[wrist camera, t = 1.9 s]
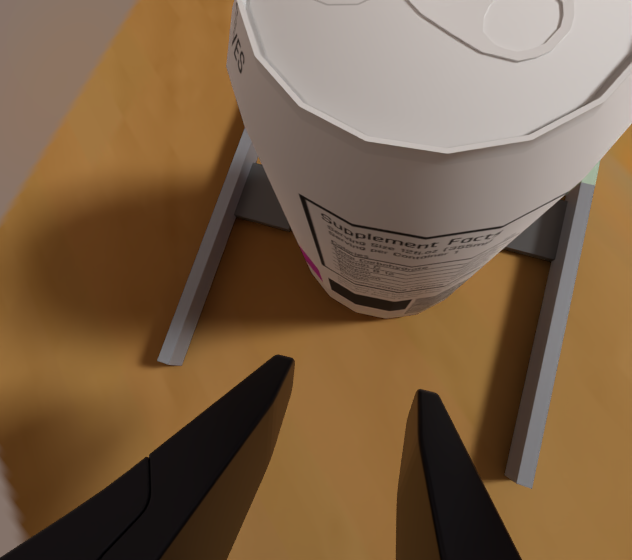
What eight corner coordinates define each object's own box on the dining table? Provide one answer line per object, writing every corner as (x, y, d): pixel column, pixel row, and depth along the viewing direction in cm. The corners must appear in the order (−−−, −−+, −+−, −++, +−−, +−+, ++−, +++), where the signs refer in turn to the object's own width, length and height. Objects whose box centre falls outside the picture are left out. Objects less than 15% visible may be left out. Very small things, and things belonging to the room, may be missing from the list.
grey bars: (518, 479, 19) (531, 488, 17) (170, 361, 21) (157, 360, 20) (595, 118, 22) (612, 100, 21) (285, 53, 25) (280, 33, 23)
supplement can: (272, 246, 22) (106, 0, 8) (379, 134, 23) (415, -287, 8) (394, 355, 20) (485, 307, 6) (505, 229, 21) (829, -90, 7)
